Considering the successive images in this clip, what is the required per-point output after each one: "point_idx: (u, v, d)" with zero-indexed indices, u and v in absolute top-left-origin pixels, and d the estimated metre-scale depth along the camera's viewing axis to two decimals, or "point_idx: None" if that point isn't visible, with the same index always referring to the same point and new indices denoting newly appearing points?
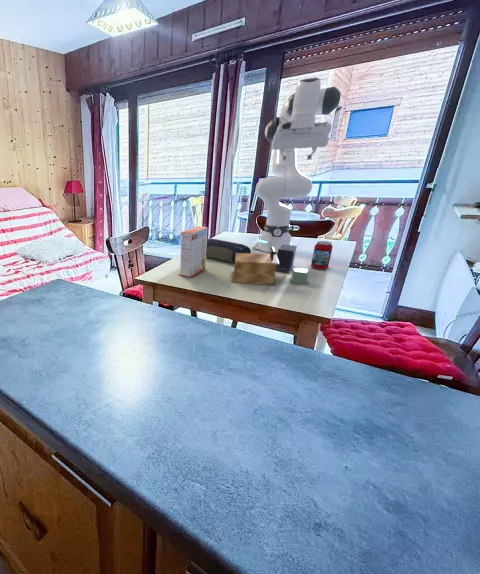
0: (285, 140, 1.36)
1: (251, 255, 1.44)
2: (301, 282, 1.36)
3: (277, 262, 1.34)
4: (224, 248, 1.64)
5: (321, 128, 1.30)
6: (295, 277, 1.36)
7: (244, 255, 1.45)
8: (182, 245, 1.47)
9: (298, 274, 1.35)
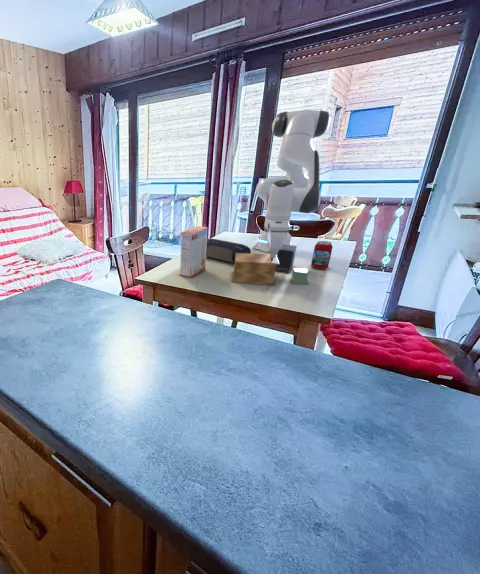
0: None
1: (251, 255, 1.44)
2: (301, 282, 1.36)
3: (277, 262, 1.34)
4: (224, 248, 1.64)
5: None
6: (295, 277, 1.36)
7: (244, 255, 1.45)
8: (182, 245, 1.47)
9: (298, 274, 1.35)
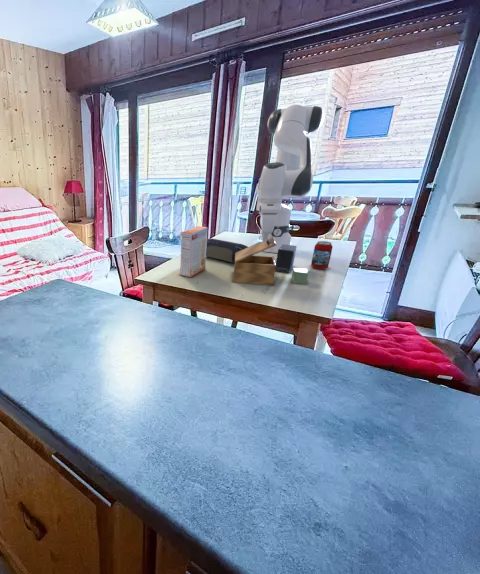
0: None
1: (249, 248, 1.43)
2: (301, 282, 1.36)
3: (273, 243, 1.31)
4: (224, 248, 1.64)
5: None
6: (295, 277, 1.36)
7: (243, 251, 1.44)
8: (182, 245, 1.47)
9: (298, 274, 1.35)
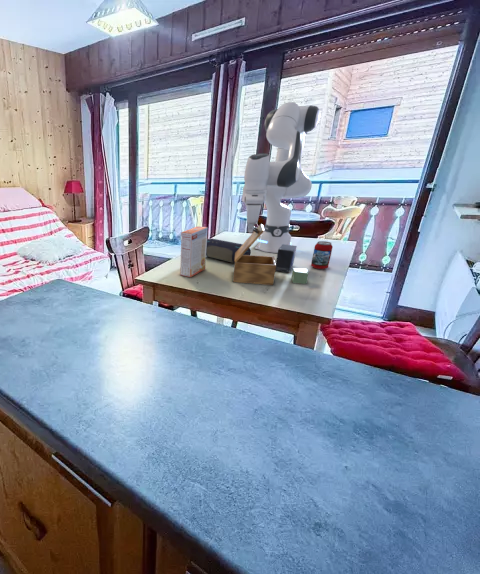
0: None
1: (244, 243, 1.43)
2: (301, 282, 1.36)
3: (261, 230, 1.31)
4: (224, 248, 1.64)
5: None
6: (295, 277, 1.36)
7: (240, 248, 1.44)
8: (182, 245, 1.47)
9: (298, 274, 1.35)
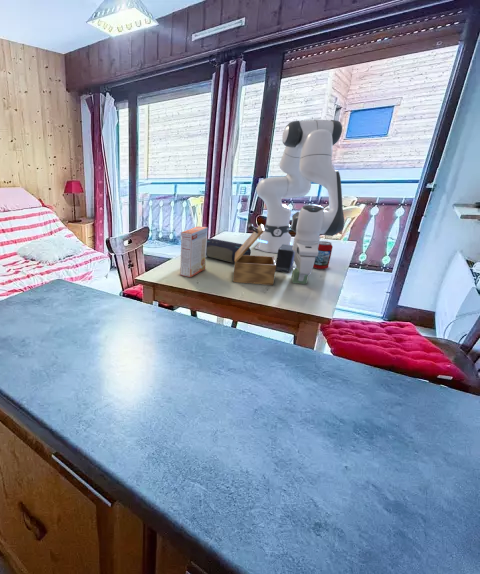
0: None
1: (244, 243, 1.43)
2: (301, 282, 1.36)
3: (261, 230, 1.31)
4: (224, 248, 1.64)
5: None
6: (295, 277, 1.36)
7: (240, 248, 1.44)
8: (182, 245, 1.47)
9: (298, 274, 1.35)
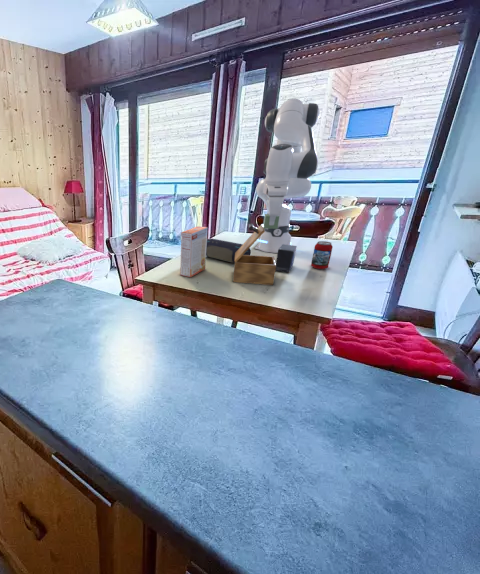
0: None
1: (245, 243, 1.43)
2: (272, 227, 1.33)
3: (262, 230, 1.31)
4: (224, 248, 1.64)
5: None
6: (266, 222, 1.33)
7: (240, 248, 1.44)
8: (182, 245, 1.47)
9: (269, 219, 1.32)
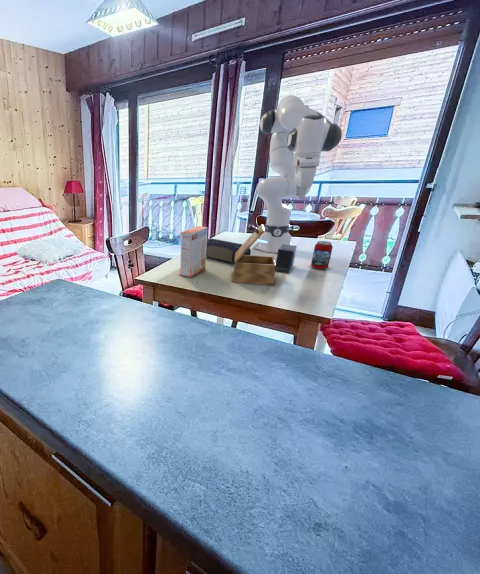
0: None
1: (245, 243, 1.43)
2: None
3: (262, 230, 1.31)
4: (224, 248, 1.64)
5: None
6: None
7: (240, 248, 1.44)
8: (182, 245, 1.47)
9: None
